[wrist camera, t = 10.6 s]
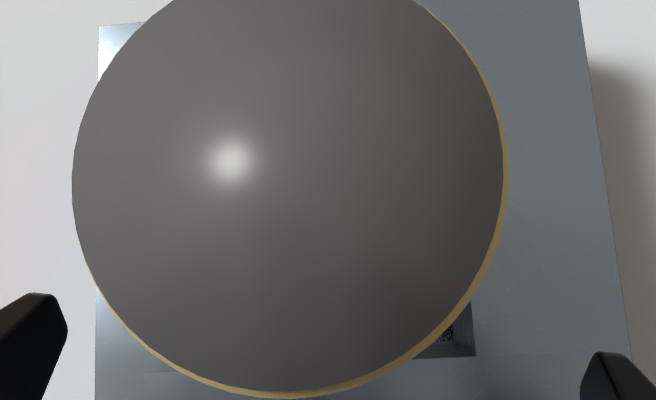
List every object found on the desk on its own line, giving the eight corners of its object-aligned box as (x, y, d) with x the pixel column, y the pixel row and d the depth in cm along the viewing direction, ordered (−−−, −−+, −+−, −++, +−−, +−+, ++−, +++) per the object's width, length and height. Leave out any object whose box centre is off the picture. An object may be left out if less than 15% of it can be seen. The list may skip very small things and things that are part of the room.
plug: (444, 273, 19) (614, 231, 5) (332, 346, 19) (199, 500, 5) (370, 165, 20) (347, -122, 6) (263, 234, 20) (-8, 107, 6)
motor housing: (585, 456, 18) (655, 512, 13) (161, 472, 19) (93, 527, 14) (518, -54, 21) (556, -148, 16) (157, -14, 22) (100, -92, 17)
